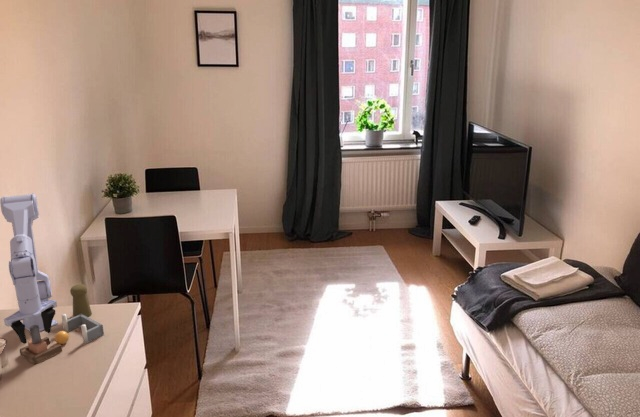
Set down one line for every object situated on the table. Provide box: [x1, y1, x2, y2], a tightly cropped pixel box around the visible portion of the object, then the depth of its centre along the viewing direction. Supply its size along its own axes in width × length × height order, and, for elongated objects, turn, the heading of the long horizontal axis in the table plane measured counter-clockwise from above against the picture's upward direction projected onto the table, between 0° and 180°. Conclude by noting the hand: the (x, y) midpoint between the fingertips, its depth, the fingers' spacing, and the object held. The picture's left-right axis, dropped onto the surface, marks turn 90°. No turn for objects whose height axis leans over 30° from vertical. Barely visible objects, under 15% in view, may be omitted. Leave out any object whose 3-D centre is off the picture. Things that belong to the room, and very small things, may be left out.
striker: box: [27, 325, 48, 355], centre depth 163 cm, size 5×3×9 cm, turn 54°
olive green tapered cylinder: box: [69, 283, 93, 318], centre depth 185 cm, size 6×6×11 cm
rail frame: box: [19, 336, 63, 365], centre depth 165 cm, size 8×8×2 cm
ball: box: [54, 330, 70, 345], centre depth 170 cm, size 4×4×4 cm
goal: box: [61, 313, 105, 345], centre depth 175 cm, size 12×7×6 cm, turn 54°
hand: (35, 337), depth 163 cm, fingers open, 7 cm apart
